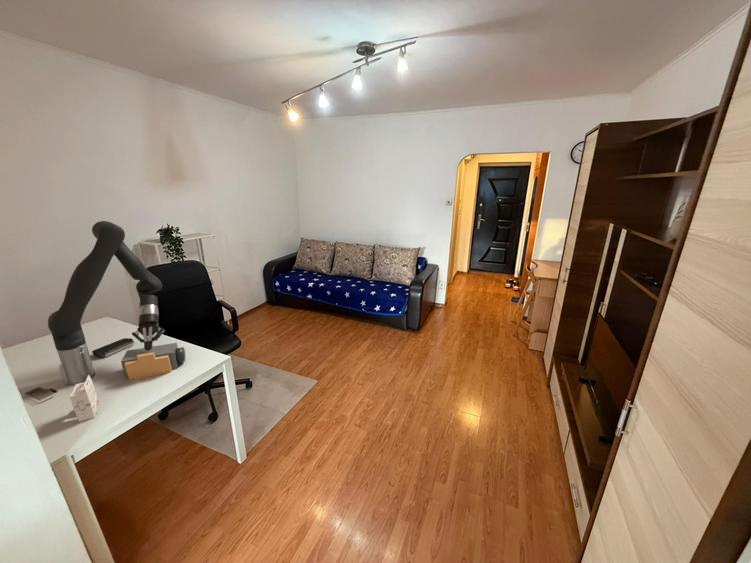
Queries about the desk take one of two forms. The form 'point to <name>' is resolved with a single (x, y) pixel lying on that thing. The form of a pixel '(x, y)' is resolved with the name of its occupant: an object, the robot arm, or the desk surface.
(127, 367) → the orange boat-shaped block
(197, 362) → the desk surface
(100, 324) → the desk surface
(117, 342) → the black sponge
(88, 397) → the ink cartridge box
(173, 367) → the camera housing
